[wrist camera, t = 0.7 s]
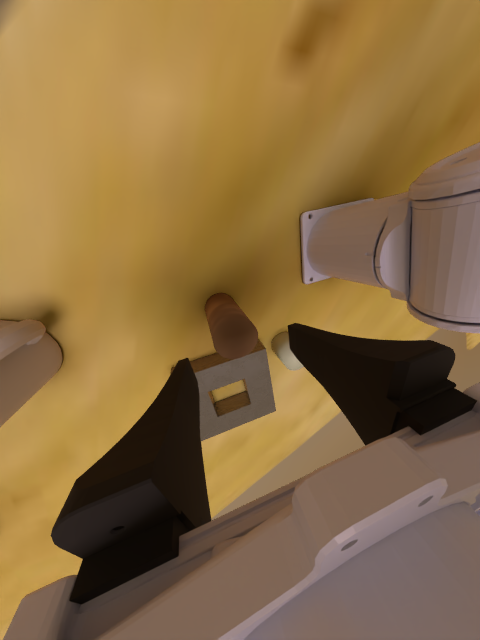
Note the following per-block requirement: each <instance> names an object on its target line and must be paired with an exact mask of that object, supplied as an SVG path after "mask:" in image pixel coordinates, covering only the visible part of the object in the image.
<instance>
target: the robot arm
mask: <svg viewBox="0 0 480 640" xmlns="http://www.w3.org/2000/svg"><path fill="white" fill-rule="evenodd" d="M308 215H310V219H309V218H308ZM300 221H301V247H302V273H303V283H304V284H310V283H314V282H317V281H321V280H324V279H328V278H331V277H335V278H339V279H344V280H349V281H353V282H358V283H363V284H367V285H372V286H377V287H381V288H386V289H389V290H390V292H391V297H392V298H396V299H400V300H404V301H407V308H408V310H409V312H410V313H411V314H412V315H413V316H414V317H415V318H417V319H418V320H420V321H422V322H424V323H426V324H429V325H432V326H435V327H438V328H442V329H447V330H452V331H458V332H467V333H480V142H479V143H477V144H474V145H472V146H470V147H468V148H465V149H463V150H461V151H459V152H457V153H455V154H452V155H450V156H448V157H446V158H444V159H442V160H440V161H439V162H437V163H435V164H433V165H432V166H430V167H428V168H427V169H426V170H425V171H424V172H423V173H422V174H421V175H420V176H419V177H418V178H417V180H415V181H414V182H413V183H412V184H411V185H410V187H409V192H405V193H401V194H397V195H393V196H389V197H385V198H381V199H377V200H374V199H373V198H369V199H364V200H359V201H355V202H350V203H345V204H341V205H336V206H331V207H327V208H322V209H317V210H313V211H308V212H304V213H302V215H301V218H300ZM310 278H311V280H310ZM288 334H289V346H290V350H291V351H292V353H293V354H294V356H295V357H296V358H297V360H298V361H299V362H300V363H301V364H302V365H303V366H304V367H305V368H306V369H307V370H308V371H309V372H310V373H311V374H312V375H313V376H314V377H315V378H316V379H317V380H318V381H319V383H320V384H321V385H322V386H323V387H324V388H325V390H326V391H327V392H328V393H329V395H330V396H331V397H332V399H333V400H334V401H335V402H336V404H337V405H338V407H339V408H340V409H341V411H342V412H343V413H344V415H345V416H346V418H347V419H348V420H349V422H350V423H351V425H352V426H353V427H354V429H355V430H356V432H357V433H358V435H359V436H360V438H361V439H362V441H363V442H364V444H365V446H364V447H362V448H360V449H358V450H356V451H353V452H351V453H349V454H347V455H345V456H343V457H341V458H339V459H337V460H335V461H333V462H331V463H329V464H327V465H324V466H322V467H320V468H318V469H317V470H315V471H313V472H312V473H310V474H308V475H306V476H304V477H302V478H300V479H298V480H295V481H293V482H291V483H289V484H287V485H285V486H283V487H281V488H279V489H277V490H275V491H273V492H271V493H269V494H266V495H264V496H262V497H260V498H258V499H256V500H254V501H252V502H250V503H248V504H246V505H243V506H241V507H239V508H237V509H235V510H233V511H231V512H229V513H227V514H225V515H223V516H221V517H219V518H217V519H214V520H212V521H211V515H210V508H209V502H208V495H207V487H206V480H205V473H204V464H203V456H202V447H201V438H200V395H199V387H198V381H197V378H196V376H195V373H194V371H193V369H192V366H191V364H190V361H189V359H188V358H186V359H183V360H179V361H178V363H177V364H176V366H175V368H174V370H173V372H172V373H171V375H170V377H169V379H168V380H167V382H166V384H165V385H164V387H163V389H162V390H161V392H160V393H159V395H158V396H157V398H156V399H155V400H154V402H153V403H152V404H151V406H150V407H149V408H148V410H147V411H146V412H145V413H144V414H143V416H142V417H141V418H140V419H139V420H138V421H137V422H136V424H135V425H134V426H133V427H132V428H131V429H130V430H129V431H128V432H127V433H126V434H125V435H124V436H123V438H122V439H121V440H120V441H119V442H118V443H116V444H115V445H114V446H113V447H112V448H111V449H110V450H109V451H108V452H107V453H106V454H105V455H104V456H103V457H102V458H101V459H99V460H98V461H97V462H96V463H95V464H94V465H93V466H92V467H90V468H89V469H88V470H87V471H86V472H85V473H84V474H82V475H81V476H80V477H79V478H78V479H77V480H76V481H75V483H74V485H73V487H72V489H71V492H70V494H69V496H68V498H67V500H66V502H65V504H64V506H63V508H62V510H61V512H60V514H59V516H58V518H57V520H56V523H55V525H54V527H53V529H52V533H51V537H52V540H53V542H54V544H55V545H57V546H58V547H59V548H61V549H63V550H66V551H68V552H70V553H72V554H74V555H76V556H78V557H80V558H82V559H83V561H82V564H81V566H80V569H79V572H78V575H71V576H67V577H64V578H61V579H59V580H57V581H55V582H53V583H51V584H49V585H46V586H44V587H42V588H40V589H38V590H36V591H34V592H32V593H29V594H27V595H26V596H25V597H24V598H23V599H22V600H21V603H20V605H19V607H18V609H17V611H16V613H15V615H14V617H13V619H12V622H11V624H10V626H9V628H8V630H7V632H6V634H5V636H4V638H3V640H480V382H479V383H477V384H475V385H473V386H471V387H469V388H467V389H466V390H465V391H464V392H463V393H462V392H460V391H459V390H457V389H455V388H454V387H456V384H455V383H454V382H451V381H450V380H448V379H447V377H448V375H449V373H450V370H451V368H452V366H453V364H454V360H455V353H454V351H453V349H451V348H450V347H447V346H445V345H442V344H440V343H437V342H434V341H431V340H418V341H397V340H377V339H366V338H358V337H352V336H346V335H341V334H336V333H332V332H328V331H324V330H320V329H316V328H313V327H309V326H306V325H302V324H298V323H294V324H291V325H288Z"/></svg>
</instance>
